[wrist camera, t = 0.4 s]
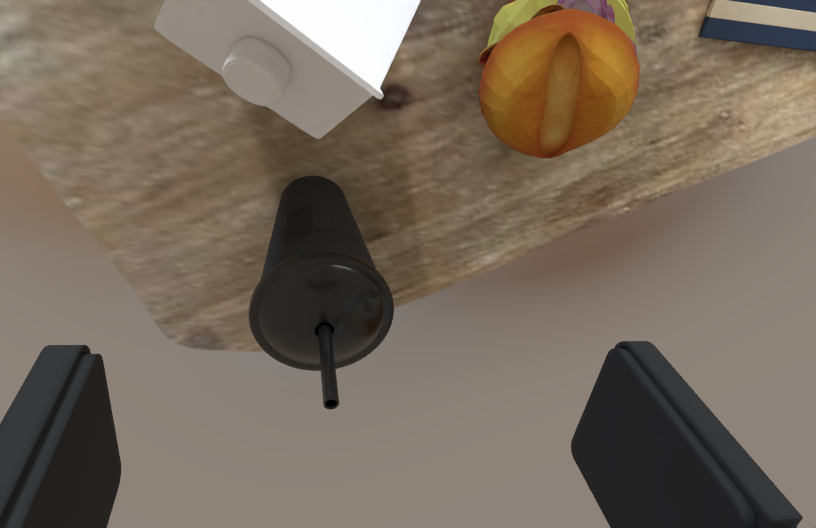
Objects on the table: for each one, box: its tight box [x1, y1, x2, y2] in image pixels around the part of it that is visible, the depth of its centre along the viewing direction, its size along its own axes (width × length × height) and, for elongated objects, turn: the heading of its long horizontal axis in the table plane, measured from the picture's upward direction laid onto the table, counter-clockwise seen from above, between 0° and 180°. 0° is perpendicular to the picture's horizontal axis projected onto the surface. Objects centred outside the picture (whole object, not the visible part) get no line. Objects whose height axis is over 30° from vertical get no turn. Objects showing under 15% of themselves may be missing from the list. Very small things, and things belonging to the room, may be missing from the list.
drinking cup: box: [249, 176, 394, 409], centre depth 33 cm, size 8×8×20 cm
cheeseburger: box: [478, 0, 640, 158], centre depth 35 cm, size 10×11×10 cm
